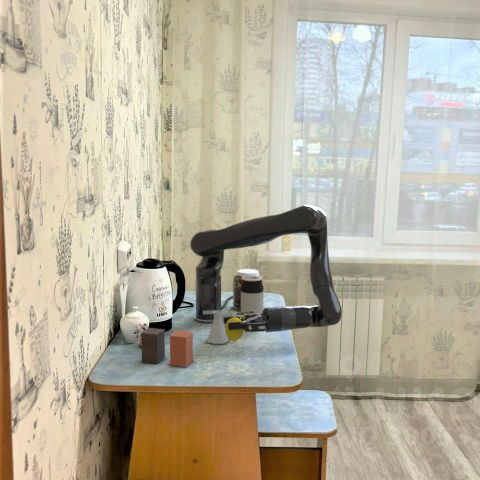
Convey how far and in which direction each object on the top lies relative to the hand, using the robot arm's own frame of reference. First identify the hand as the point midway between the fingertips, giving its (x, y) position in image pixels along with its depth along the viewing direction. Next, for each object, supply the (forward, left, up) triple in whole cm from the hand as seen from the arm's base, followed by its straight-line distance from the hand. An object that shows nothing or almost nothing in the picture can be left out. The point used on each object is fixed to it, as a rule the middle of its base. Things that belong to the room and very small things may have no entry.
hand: (226, 323), depth 180 cm
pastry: (-2, -26, -11) cm, 28 cm away
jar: (-54, -11, -11) cm, 56 cm away
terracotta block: (+9, -11, -11) cm, 17 cm away
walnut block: (+9, -20, -11) cm, 24 cm away
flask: (-13, -8, -11) cm, 19 cm away
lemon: (-1, +2, -6) cm, 7 cm away
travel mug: (-31, -2, -11) cm, 33 cm away
